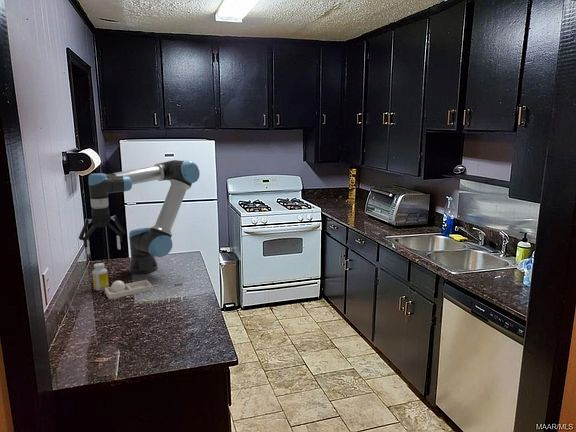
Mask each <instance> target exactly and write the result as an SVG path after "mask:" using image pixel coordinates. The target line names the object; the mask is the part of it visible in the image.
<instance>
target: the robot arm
mask: <svg viewBox="0 0 576 432" xmlns="http://www.w3.org/2000/svg"><path fill="white" fill-rule="evenodd" d="M199 179H200V169H199V166H198V164H197V163H195V162H194V161H190V160H178V159H174V160H168V161H163V162H159V163H155V164H154V165H153V166H147V167H146V166H145V167H141V168H137V169H130V170H123V171H118V172H113V173H101V172H99V173H98V172H97V173H90V174H89V175H88V188H89V197H90V207H91V218H85V219H84V224H83V226H82V229H81V231H80V234H79V236H78V239H79V240H80V241H83V247H84V248H86V254H87V255H91V251H90V250H91V249H90V240H89V238H90V237H91V235H92V233H94V231H95V230H96V229H97V228H103V227H104V228H105V227H107V226H108V227H109V228H110V229H111V230H112V231H113V232H115V234H117V235H116V247H117V250H121V248H122V247H121V243H122V242H123V235H126V234H127V233H126V231H125V229H124V228H123V226H122V225H121V223H120V222H119V219H118V216H117V215H115V214H114V215H112V216H110V207H109V194H113V193H124V192H128V191H131V189H132V187H133V185H137V184H143V183H146V182H147V183H148V182H153V181H159V182H161V181H169V182H170V186H169V188H168V189H169V190H168V191H167V194H166V197H165V199H164V202H163V204H162V206H161V208H160V211H159V213H158V217H157V219H156V221H155V223H154V225H153V226H152V227H142V228H140V227H139V228H136V229H132V230H130V231H129V234H128V238H129V248H130V262H129V265H128V271H129V273H130V274H134V275H135V274H136V275H143V274H149V273H153V272H155V271H157V270H158V268H159V266H158V262H157V260H156V258H163V257H165V256H167V255H168V254H169V253H170V252H171V251H172V248H173V240H172V237H173V234H172V228H173V226H174V224H175V220H176V218H177V216H178V213H179V210H180V208H181V205H182V202H183V200H184V198H185V195H186V192H187V191H188V190H189V189H191V187H192V184H195V183H196V182H198V180H199ZM111 220H112V221H114V223H115V224H116V227H117V228H118V229H119V230H118V229H117V228H116V227H114V226H113V225H112V224H111V223H110V222H111ZM91 223H92V225H91V226H90V228H89V230H87V229H88V227H89V224H91ZM155 257H156V258H155Z"/></svg>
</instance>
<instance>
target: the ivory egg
mask: <svg viewBox="0 0 576 432" xmlns="http://www.w3.org/2000/svg"><path fill="white" fill-rule="evenodd" d="M125 284H126V283H125V282H124V281H122V280H115V281H114V282H112V284H111V286H110V287H111V289H112V291H113V292H114V293H117V292H122V291H124V289H125Z"/></svg>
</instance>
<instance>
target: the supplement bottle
mask: <svg viewBox="0 0 576 432" xmlns="http://www.w3.org/2000/svg"><path fill="white" fill-rule="evenodd" d="M105 266H106V265H105V263H104V262H98V263H94V264H93V268H94V269H93V270H92V271H91V275H92V283H93V290H94V291H105V288H107V287H110V283H109V274H108V269H107V268H105Z"/></svg>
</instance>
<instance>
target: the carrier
mask: <svg viewBox="0 0 576 432" xmlns="http://www.w3.org/2000/svg"><path fill="white" fill-rule="evenodd" d="M124 284H125V289H124V291H122V292H117V293H114V292H113V291H112V289H111V286H109V287H107V288H105V290H104V294H105V295H106V297H107V299H108V300H114V299H119V298H123V297H128V296H132V295H137V294H142V293H146V292H152V291H154V287H153V284H151V282H150V281H149V280H148V279H144V280H138V281H133V282H129V283H124Z"/></svg>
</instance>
